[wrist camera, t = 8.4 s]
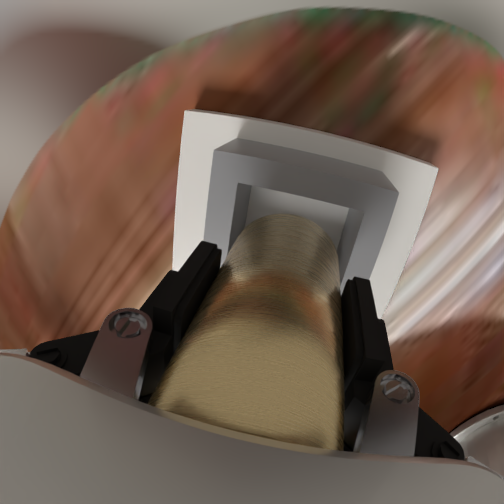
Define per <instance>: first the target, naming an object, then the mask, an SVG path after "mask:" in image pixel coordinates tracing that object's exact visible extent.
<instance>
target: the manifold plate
mask: <svg viewBox="0 0 504 504" xmlns="http://www.w3.org/2000/svg"><path fill="white" fill-rule="evenodd" d="M438 169H439V168H437V167H436V166H434V165H433V164H431V163H429V162H426V161H423V160H420V159H417V158H414V157H411V156H408V155H405V154H402V153H399V152H396V151H393V150H389V149H386V148H383V147H379V146H376V145H372V144H369V143H365V142H362V141H358V140H354V139H351V138H347V137H343V136H339V135H335V134H331V133H327V132H323V131H318V130H314V129H310V128H305V127H300V126H296V125H291V124H286V123H281V122H276V121H270V120H265V119H259V118H253V117H247V116H241V115H235V114H228V113H221V112H214V111H206V110H198V109H192V110H185V113H184V121H183V130H182V139H181V149H180V159H179V170H178V182H177V195H176V209H175V225H174V244H173V268H172V270H174V271H179V270H180V268H181V267H182V266H183V264H184V263H185V262H186V260H187V259H188V258H189V256H190V255H191V254H192V252H193V251H194V250H195V248H196V247H197V246H198V244H199V243H200V242H201V241H206V242H210V243H214V244H217V248H218V249H222V256H221V264H220V268H221V266H222V264H223V262H224V261H225V259H226V257H227V255H228V253H229V251H230V250H231V248H232V246H233V244H234V242H235V241H236V239H237V237H238V235H239V234H240V233H241V231H242V230H243V229H244V228H245V227H246V226H247V225H249V224H250V223H251V222H253V221H255V220H257V219H259V218H261V217H264V216H267V215H271V214H280V213H282V214H293V215H298V216H301V217H304V218H306V219H309V220H311V221H312V222H314V223H316V224H317V225H318V226H320V227H321V228H322V229H323V230H324V231H325V232H326V233H327V234H328V236H329V237H330V238H331V240H332V242H333V243H334V245H335V248H336V251H337V255H338V263H339V275H340V289H341V295H342V292H343V290H344V287H345V284H346V282H347V280H348V279H350V280H352V279H353V278H354V277H360V278H364V279H368V280H370V283H371V288H372V292H373V297H374V302H375V307H376V312H377V317H378V319H381V318H382V316H383V314H384V311H385V309H386V307H387V305H388V303H389V301H390V298H391V296H392V294H393V292H394V289H395V287H396V285H397V283H398V280H399V278H400V276H401V273H402V271H403V268H404V266H405V264H406V261H407V259H408V256H409V254H410V251H411V248H412V246H413V243H414V241H415V238H416V235H417V233H418V230H419V227H420V224H421V222H422V219H423V216H424V213H425V210H426V207H427V204H428V201H429V198H430V195H431V192H432V189H433V186H434V183H435V179H436V176H437V173H438Z"/></svg>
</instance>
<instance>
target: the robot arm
mask: <svg viewBox="0 0 504 504" xmlns="http://www.w3.org/2000/svg"><path fill="white" fill-rule="evenodd" d="M221 256H222V249H218V248H217V244H214V243H210V242H206V241H201V242H200V243H199V244H198V246H197V247H196V248H195V250H194V251H193V252H192V254H191V255H190V256H189V258H188V259H187V260H186V262H185V263H184V264H183V266H182V267H181V268H180V270H179V271H174V270H170V271H169V272H168V273H167V274H166V276H165V277H164V278H163V280H162V281H161V282H160V283H159V285H158V286H157V287H156V289H155V290H154V291H153V292H152V294H151V295H150V296H149V298H148V299H147V300H146V302H145V303H144V304H143V306H142V307H141V308H140V309H139V310H138V309H134V308H123V309H118V310H116V311H113V312H112V313H110V314H109V315H108V316H107V317H106V318H105V320H104V322H103V324H102V326H101V328H100V330H98V331H94V332H89V333H85V334H80V335H76V336H71V337H66V338H62V339H57V340H52V341H47V342H44V343H41V344H39V345H38V346H36V347H35V348H34V349H33V350H32V351H31V352H28V351H27V349H10V350H0V504H504V405H501V406H497V407H495V408H492V409H490V410H487V411H485V412H483V413H481V414H479V415H477V416H475V417H473V418H471V419H470V420H468V421H466V422H465V423H463V424H462V425H460V426H459V427H458V428H456V429H455V430H454V431H452V432H451V433H450V434H449V433H448V432H447V431H446V430H445V429H443V428H442V427H441V426H440V425H439V424H438V423H437V422H435V421H434V420H433V419H432V418H431V417H430V416H429V415H427V414H426V413H425V412H424V411H423V410H422V409H421V408H420V407H419V389H418V387H417V385H416V383H415V382H414V381H413V379H412V378H410V377H409V376H408V375H406V374H404V373H402V372H400V371H396V370H393V364H392V358H391V353H390V347H389V342H388V337H387V332H386V327H385V323H384V320H382V319H378V317H377V312H376V307H375V302H374V297H373V292H372V288H371V283H370V280H368V279H364V278H360V277H354V278H353V279H352V280H350V279H348V280H347V282H346V284H345V287H344V290H343V292H342V295H341V304H342V323H343V347H344V451H338V450H330V449H323V448H317V447H310V446H304V445H298V444H292V443H287V442H282V441H277V440H272V439H267V438H262V437H258V436H253V435H249V434H245V433H241V432H236V431H233V430H229V429H225V428H221V427H217V426H214V425H210V424H207V423H203V422H200V421H197V420H193V419H190V418H187V417H183V416H180V415H177V414H174V413H171V412H168V411H165V410H162V409H159V408H157V407H154V406H151V405H148V402H149V400H150V398H151V396H152V394H153V392H154V391H155V389H156V387H157V385H158V383H159V381H160V379H161V377H162V375H163V373H164V372H165V370H166V368H167V366H168V364H169V362H170V360H171V358H172V356H173V355H174V353H175V351H176V349H177V347H178V345H179V343H180V341H181V340H182V338H183V336H184V334H185V332H186V330H187V328H188V327H189V325H190V323H191V321H192V319H193V317H194V315H195V314H196V312H197V310H198V308H199V306H200V304H201V302H202V301H203V299H204V297H205V295H206V293H207V291H208V290H209V288H210V286H211V284H212V282H213V280H214V279H215V277H216V275H217V273H218V271H219V270H220V264H221Z"/></svg>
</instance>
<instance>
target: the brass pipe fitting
mask: <svg viewBox="0 0 504 504" xmlns="http://www.w3.org/2000/svg"><path fill="white" fill-rule="evenodd" d="M148 405H151V406H154V407H157V408H159V409H162V410H165V411H168V412H171V413H174V414H177V415H180V416H183V417H187V418H190V419H193V420H197V421H200V422H203V423H207V424H210V425H214V426H217V427H221V428H225V429H229V430H233V431H236V432H241V433H245V434H249V435H253V436H258V437H262V438H267V439H272V440H277V441H282V442H287V443H292V444H298V445H304V446H310V447H317V448H323V449H330V450H338V451H344V347H343V323H342V304H341V289H340V275H339V263H338V255H337V251H336V248H335V245H334V243H333V242H332V240H331V238H330V237H329V236H328V234H327V233H326V232H325V231H324V230H323V229H322V228H321V227H320V226H318V225H317V224H316V223H314V222H312V221H311V220H309V219H306V218H304V217H301V216H298V215H293V214H282V213H280V214H271V215H267V216H264V217H261V218H259V219H257V220H255V221H253V222H251V223H250V224H249V225H247V226H246V227H245V228H244V229H243V230H242V231H241V233H240V234H239V235H238V237H237V239H236V241H235V242H234V244H233V246H232V248H231V250H230V251H229V253H228V255H227V257H226V259H225V261H224V262H223V264H222V266H221V268H220V270H219V271H218V273H217V275H216V277H215V279H214V280H213V282H212V284H211V286H210V288H209V290H208V291H207V293H206V295H205V297H204V299H203V301H202V302H201V304H200V306H199V308H198V310H197V312H196V314H195V315H194V317H193V319H192V321H191V323H190V325H189V327H188V328H187V330H186V332H185V334H184V336H183V338H182V340H181V341H180V343H179V345H178V347H177V349H176V351H175V353H174V355H173V356H172V358H171V360H170V362H169V364H168V366H167V368H166V370H165V372H164V373H163V375H162V377H161V379H160V381H159V383H158V385H157V387H156V389H155V391H154V392H153V394H152V396H151V398H150V400H149V402H148Z"/></svg>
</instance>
